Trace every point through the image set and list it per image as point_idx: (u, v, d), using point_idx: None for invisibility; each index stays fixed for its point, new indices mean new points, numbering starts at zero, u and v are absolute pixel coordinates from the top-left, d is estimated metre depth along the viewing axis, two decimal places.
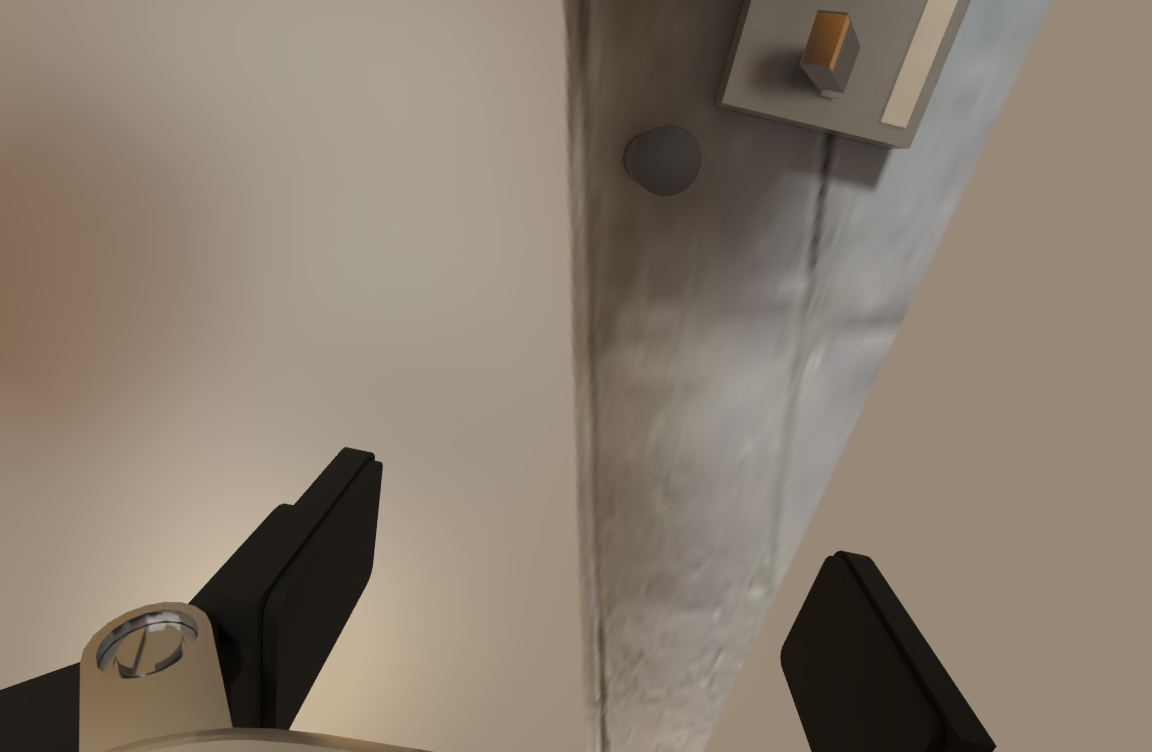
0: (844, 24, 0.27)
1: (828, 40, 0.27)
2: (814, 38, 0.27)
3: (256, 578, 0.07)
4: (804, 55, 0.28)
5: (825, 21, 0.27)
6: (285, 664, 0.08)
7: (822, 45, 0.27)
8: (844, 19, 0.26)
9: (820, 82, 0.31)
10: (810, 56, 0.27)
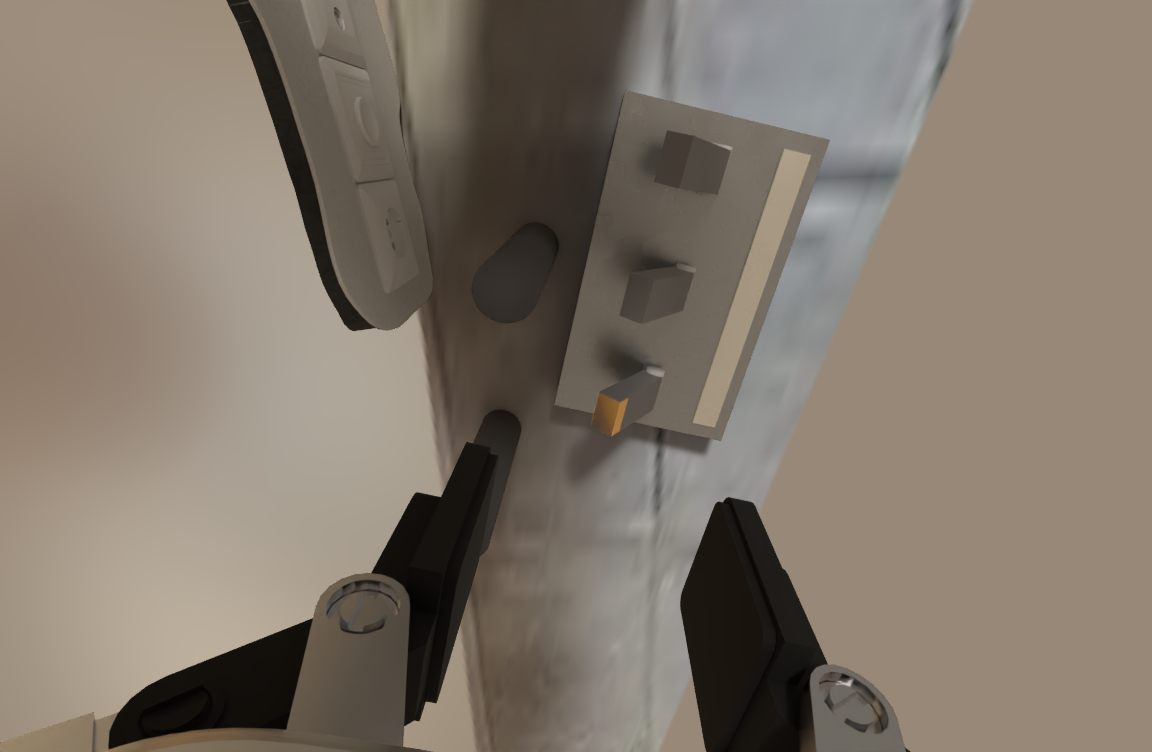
0: (619, 407, 0.31)
1: (608, 416, 0.32)
2: (598, 411, 0.32)
3: (436, 553, 0.08)
4: (592, 422, 0.32)
5: (605, 401, 0.32)
6: (450, 630, 0.09)
7: (604, 418, 0.32)
8: (618, 405, 0.31)
9: None
10: (597, 424, 0.32)
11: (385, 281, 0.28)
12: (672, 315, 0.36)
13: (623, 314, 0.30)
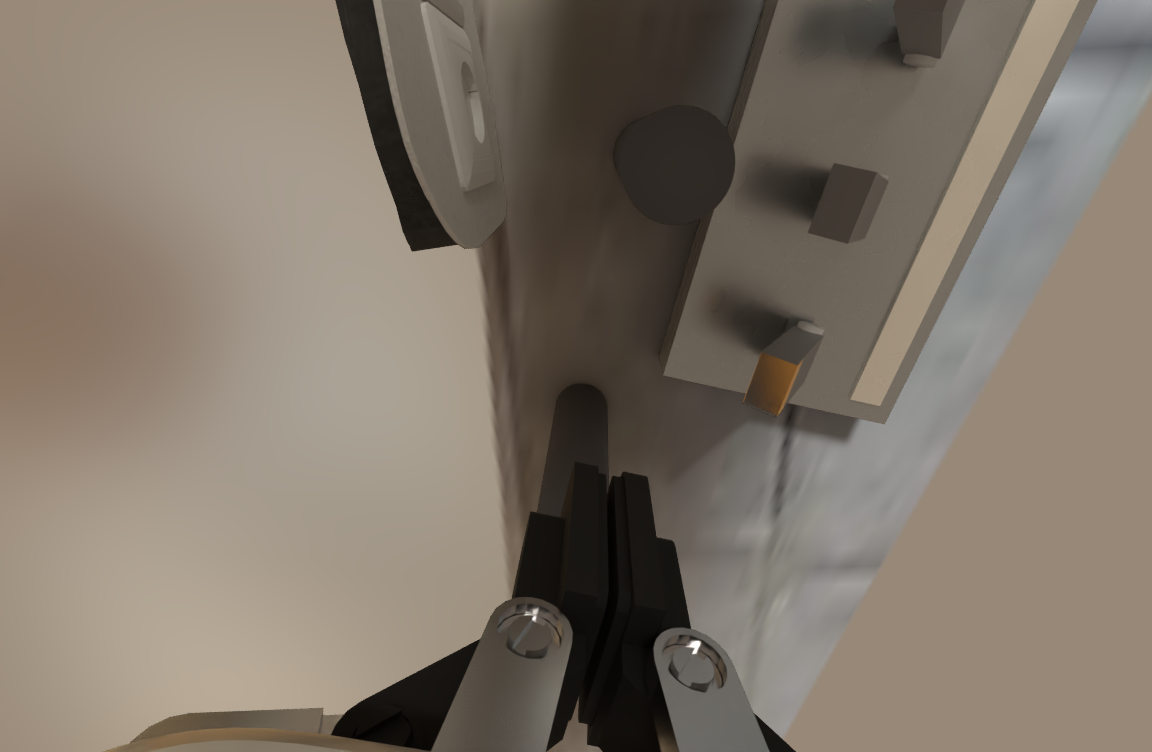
0: (794, 373, 0.21)
1: (775, 387, 0.22)
2: (759, 380, 0.22)
3: (584, 577, 0.09)
4: (747, 395, 0.22)
5: (772, 365, 0.22)
6: None
7: (768, 390, 0.22)
8: (794, 369, 0.21)
9: None
10: (754, 398, 0.22)
11: (462, 170, 0.18)
12: (839, 248, 0.26)
13: (815, 230, 0.20)
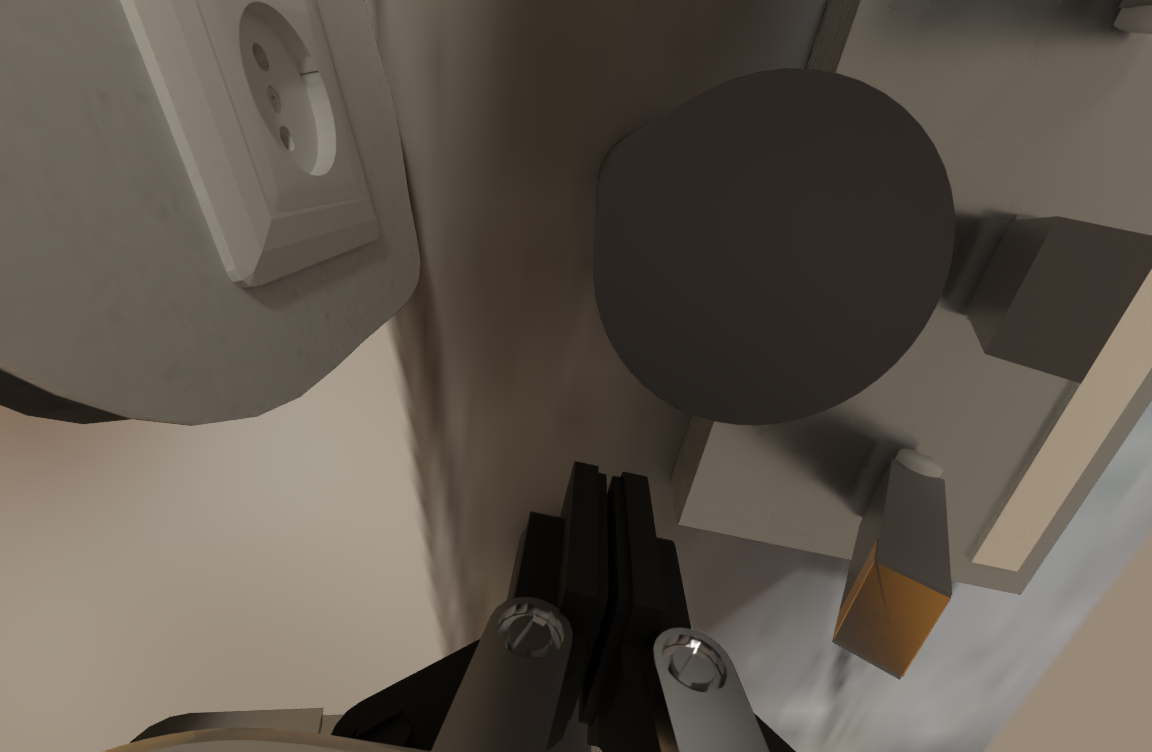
0: (941, 608, 0.11)
1: (900, 627, 0.12)
2: (867, 608, 0.12)
3: (585, 577, 0.09)
4: (842, 629, 0.12)
5: (894, 587, 0.11)
6: None
7: (885, 629, 0.12)
8: (942, 604, 0.11)
9: None
10: (856, 637, 0.12)
11: (232, 243, 0.08)
12: (971, 338, 0.16)
13: (1003, 350, 0.10)
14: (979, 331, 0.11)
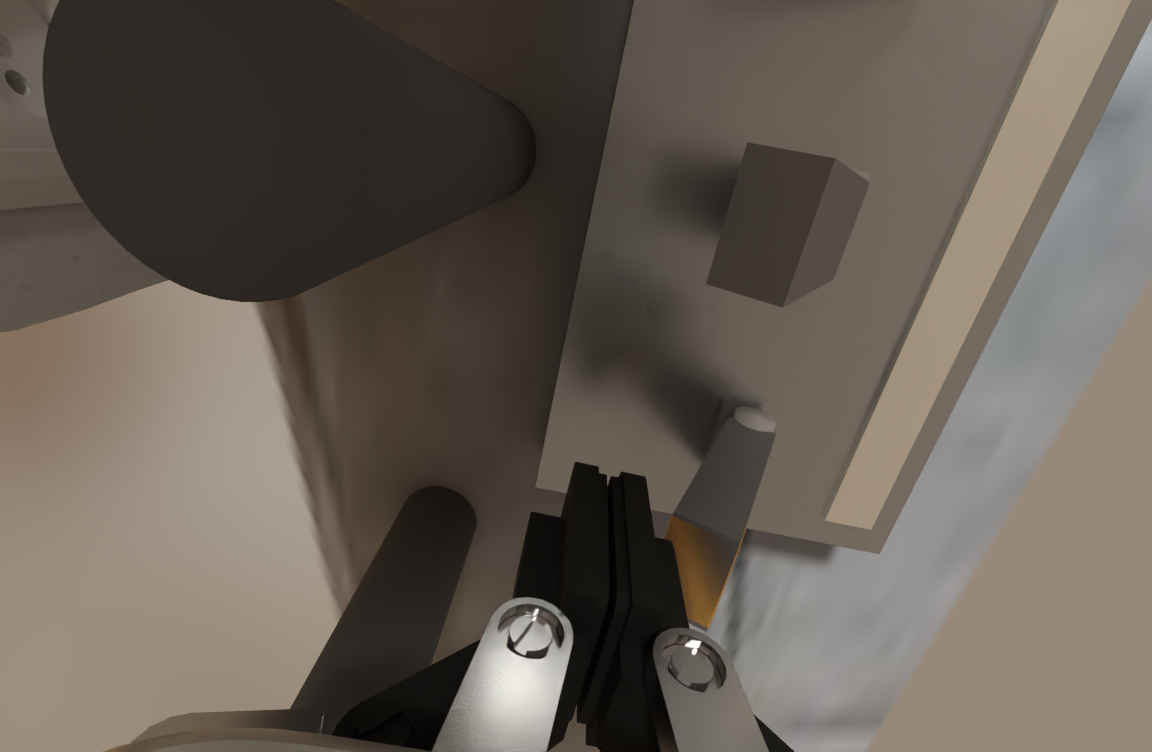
0: None
1: (701, 579, 0.12)
2: None
3: (585, 577, 0.09)
4: None
5: (692, 540, 0.11)
6: None
7: (688, 582, 0.12)
8: (734, 552, 0.11)
9: None
10: None
11: None
12: None
13: (720, 279, 0.10)
14: None
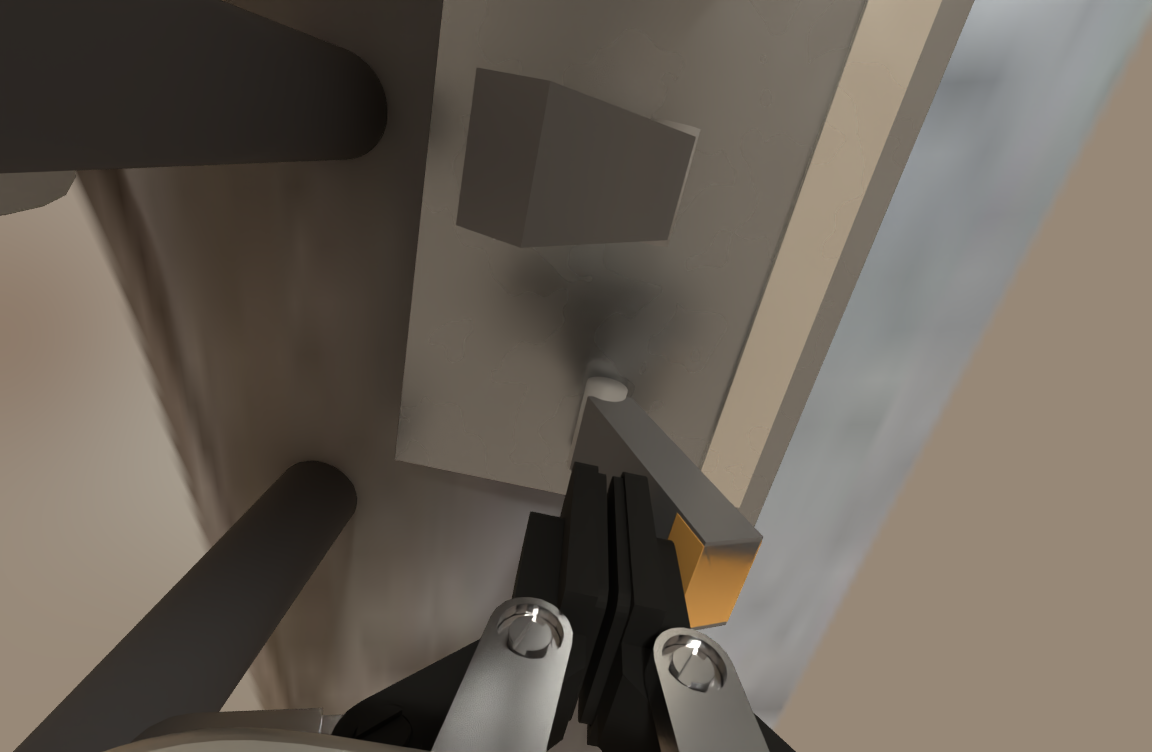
0: None
1: (726, 585, 0.11)
2: (699, 588, 0.11)
3: (585, 577, 0.09)
4: None
5: (720, 558, 0.11)
6: None
7: (713, 595, 0.11)
8: (756, 548, 0.11)
9: None
10: (691, 617, 0.11)
11: None
12: (644, 258, 0.15)
13: (467, 219, 0.09)
14: None
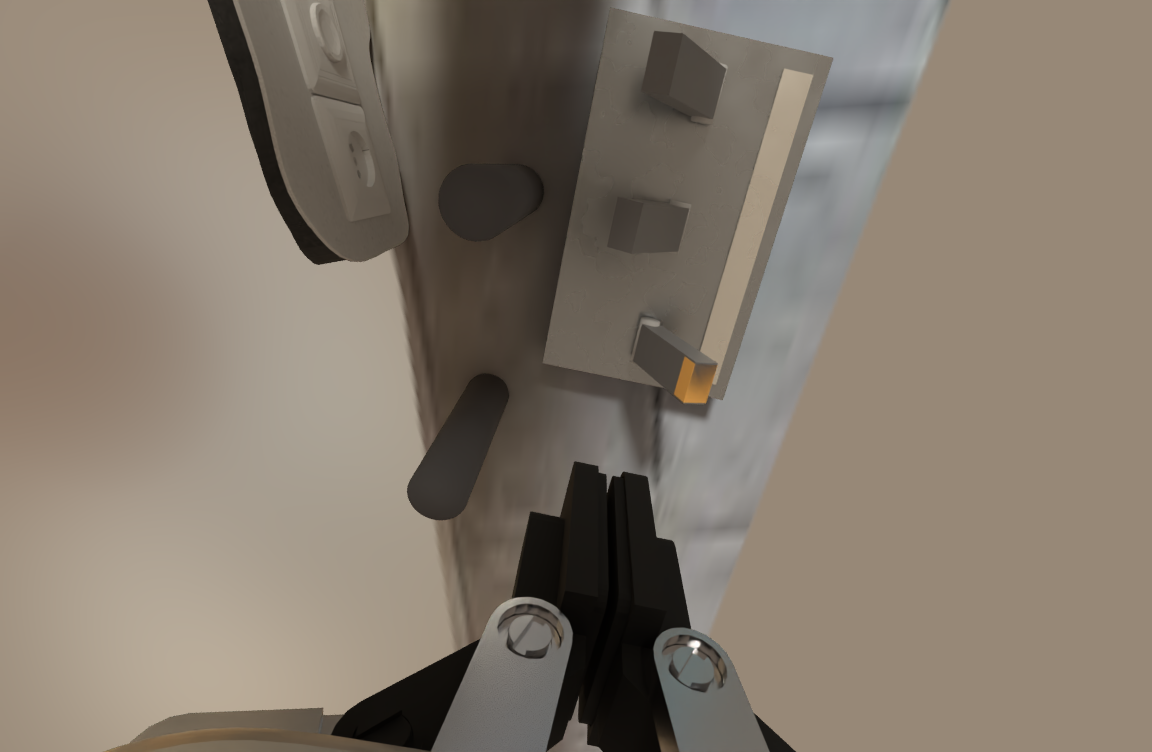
0: None
1: (704, 384, 0.29)
2: (693, 383, 0.29)
3: (585, 577, 0.09)
4: (686, 396, 0.29)
5: (701, 370, 0.29)
6: None
7: (699, 388, 0.29)
8: (715, 368, 0.29)
9: None
10: (691, 397, 0.29)
11: (347, 206, 0.25)
12: (667, 259, 0.33)
13: (611, 245, 0.27)
14: None
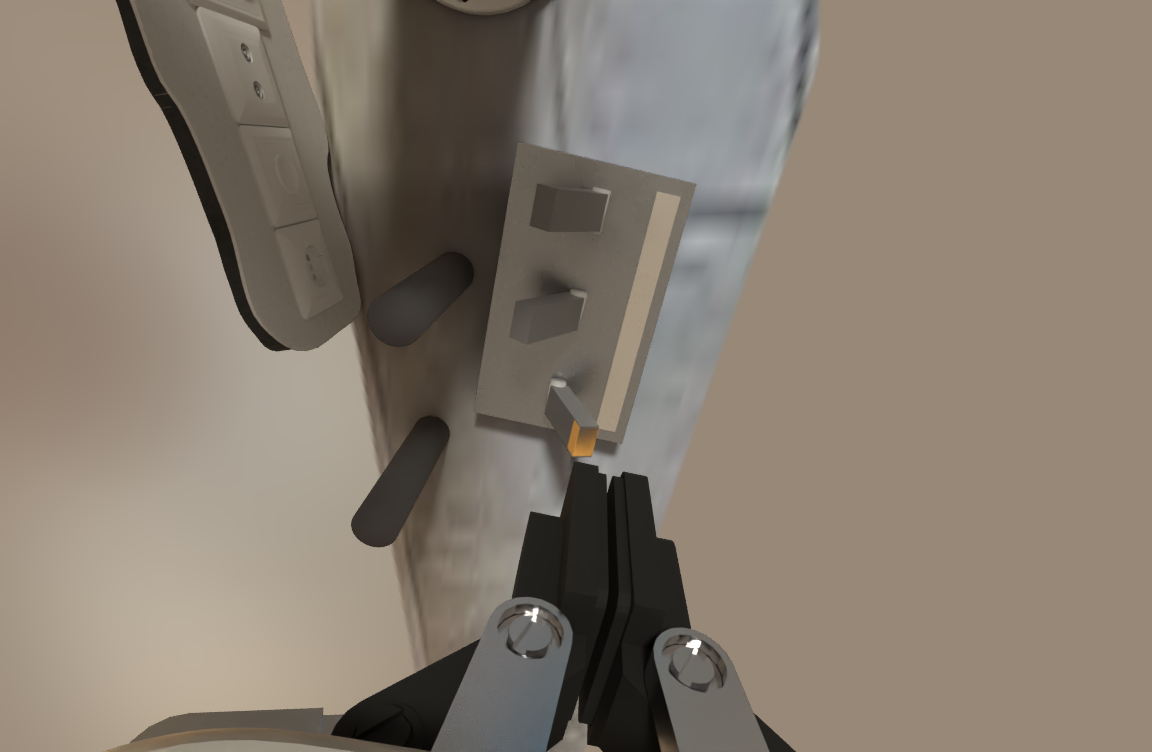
0: (597, 431, 0.37)
1: (589, 442, 0.37)
2: (579, 442, 0.37)
3: (585, 577, 0.09)
4: (574, 452, 0.37)
5: (585, 432, 0.36)
6: None
7: (585, 445, 0.37)
8: (597, 430, 0.37)
9: None
10: (578, 452, 0.37)
11: (303, 309, 0.33)
12: (571, 333, 0.41)
13: (512, 336, 0.35)
14: None
